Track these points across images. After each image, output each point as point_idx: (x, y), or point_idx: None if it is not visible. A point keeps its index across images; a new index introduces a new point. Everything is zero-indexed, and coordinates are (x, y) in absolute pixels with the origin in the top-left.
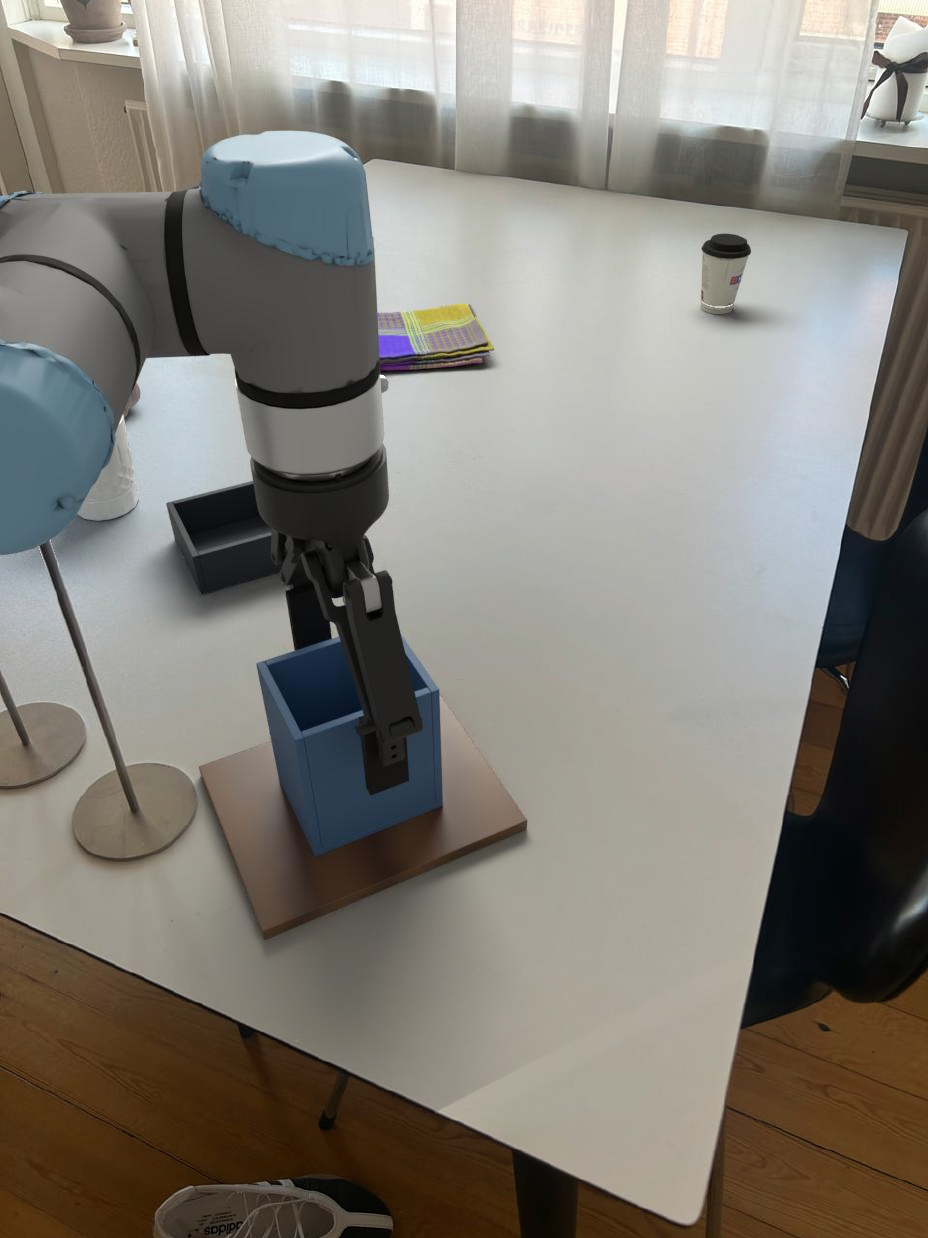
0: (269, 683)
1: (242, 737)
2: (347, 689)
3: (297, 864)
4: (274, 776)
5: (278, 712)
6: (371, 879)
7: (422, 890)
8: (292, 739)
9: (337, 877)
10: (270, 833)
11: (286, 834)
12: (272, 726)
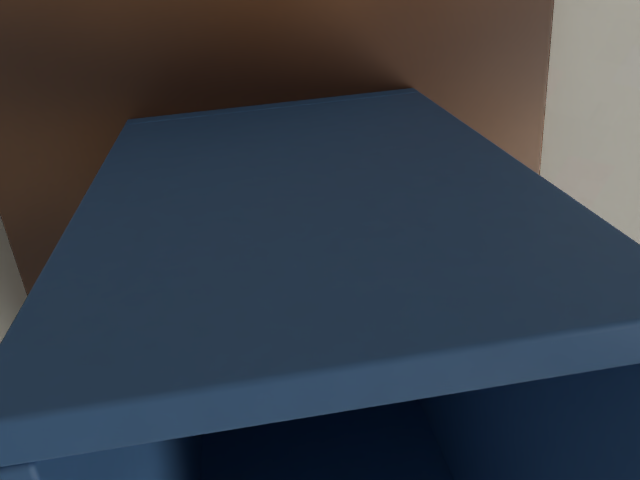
0: (520, 357)
1: (610, 22)
2: (485, 435)
3: (114, 70)
4: (426, 78)
5: (299, 340)
6: (24, 230)
7: (4, 310)
8: (26, 389)
9: (48, 157)
10: (242, 23)
11: (224, 64)
12: (444, 177)
